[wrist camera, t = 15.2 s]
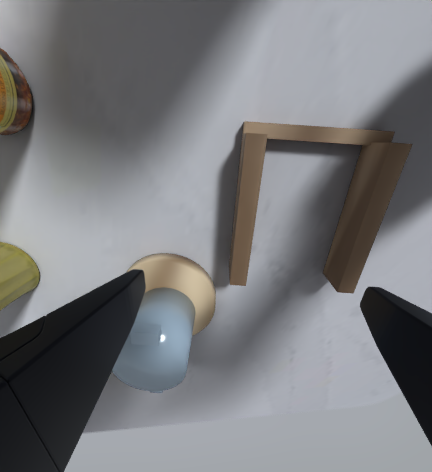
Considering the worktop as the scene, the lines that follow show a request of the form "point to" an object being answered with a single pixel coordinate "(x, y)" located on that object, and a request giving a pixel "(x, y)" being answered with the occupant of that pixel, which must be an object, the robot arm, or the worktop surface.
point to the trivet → (181, 282)
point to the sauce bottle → (13, 97)
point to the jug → (158, 342)
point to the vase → (15, 274)
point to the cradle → (355, 207)
